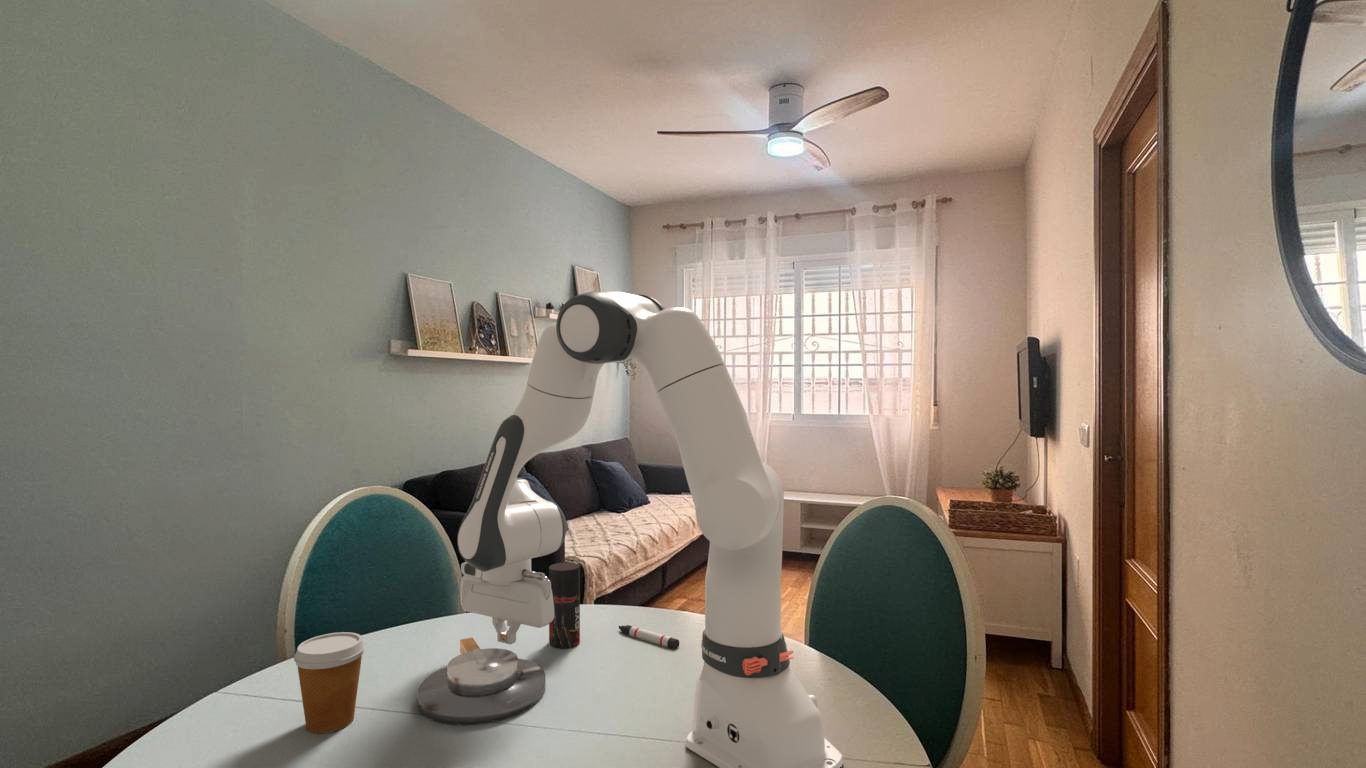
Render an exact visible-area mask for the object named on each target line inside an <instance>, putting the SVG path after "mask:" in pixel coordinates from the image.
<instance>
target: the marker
mask: <svg viewBox="0 0 1366 768" xmlns="http://www.w3.org/2000/svg"><path fill="white" fill-rule="evenodd" d="M618 629H619V630H620V632H622V633H624V635H626V636H629V635H630V636H629V637H632V636H633V638H635V637H636V639H639V640H642V639H643V640H642V641H645V640H646V641H645V642H648V641H649V643H652V644H655V643H656V644H655V645H658V644H659V645H658V646H661V645H662V646H663V647H664V648H668V647H669V649H672V648H673V650H676V649H678V648H679V647H680V640H679V639H677V638H673V637H671V636H667V635H664V634H661V633H658V632H654V631H651V630H647V629H644V628H640V627H637V626H633V625H629V624H626V625H618ZM677 647H678V648H677ZM675 648H676V649H675Z"/></svg>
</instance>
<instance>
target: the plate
mask: <svg viewBox="0 0 1366 768" xmlns="http://www.w3.org/2000/svg"><path fill="white" fill-rule="evenodd" d="M417 687H418V688H417V692H416V694H417V695H416V696H417V698H416V700H417V701H416V702H417V703H416V704H417V705H416V706H417V709H418V712H419V713H420V714H421V715H422V716H423V717H424V718H426V719H428V720H430V721H433V722H436V723H439V724H445V725H453V726H473V725H474V726H475V725H481V724H482V725H483V724H488V723H494V722H499V721H502V720H503V721H504V720H505V719H508V718H512V717H514V716H517V715H519V714H522V713H523V712H525V711H527V710H529V709H531V708H533V707H534V706H535V705H536V704H538V703H539V702H540V701H541V700H542V698H543V697H544V695H545V692H546V672H545V670H544V669H543V667H541V666H540V665H539V664H537V663H535V662H533V661H530V660H527V659H523V658H520V657H518V678H517V680H516V682H515V683H514V684H512V685H511V686H509V687H508V688H506V689H503V690H501V691H498V692H495V693H491V694H485V695H474V696H471V695H461V694H457V693H454V692H452V691H451V690H449V688H448V686H447V666H445V667H443V668H441V669H438V670H436V671H434V672H432V673H431V674H429V675H427V677H425V678H424V679H423V680H422V681H421V683H420V684H419V686H417Z"/></svg>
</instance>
